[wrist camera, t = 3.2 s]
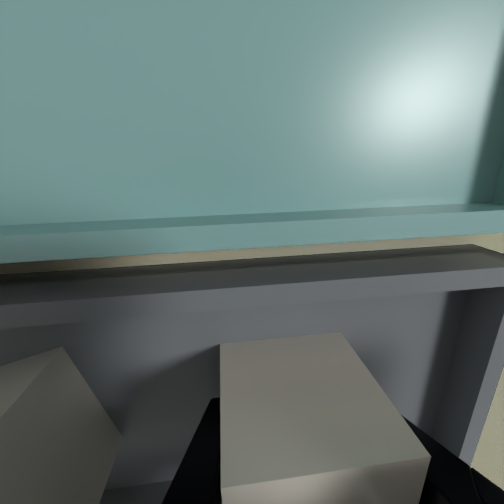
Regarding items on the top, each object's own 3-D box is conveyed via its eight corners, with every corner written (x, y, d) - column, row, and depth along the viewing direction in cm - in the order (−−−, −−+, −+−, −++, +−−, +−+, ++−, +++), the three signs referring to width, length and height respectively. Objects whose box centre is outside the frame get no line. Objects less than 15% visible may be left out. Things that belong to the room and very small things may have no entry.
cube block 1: (332, 421, 10) (399, 574, 6) (227, 435, 10) (232, 608, 6) (340, 331, 9) (431, 456, 5) (219, 343, 8) (220, 488, 5)
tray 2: (426, 432, 12) (464, 481, 10) (-31, 497, 10) (-88, 573, 8) (473, 244, 9) (537, 264, 7) (-149, 285, 7) (-275, 326, 6)
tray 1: (480, 215, 9) (549, 229, 7) (-167, 250, 7) (-308, 282, 5) (559, -109, 6) (699, -221, 5) (-415, -196, 5) (-866, -452, 3)
